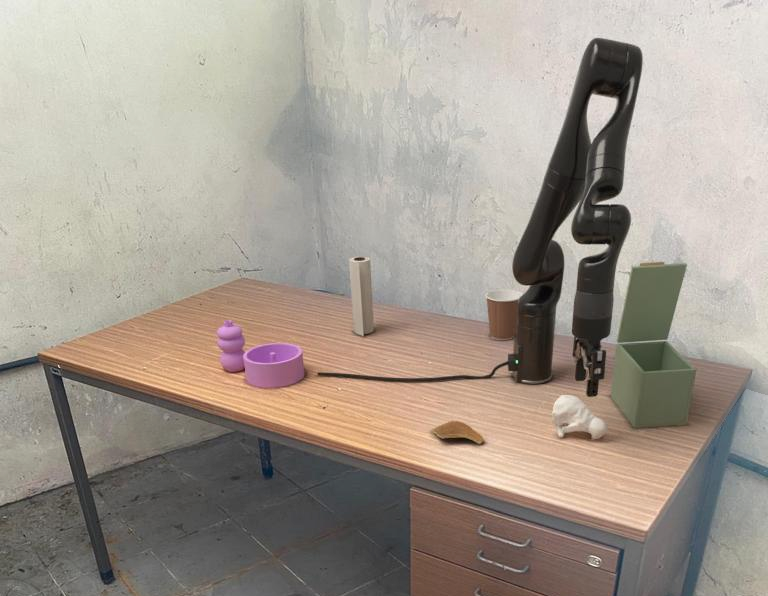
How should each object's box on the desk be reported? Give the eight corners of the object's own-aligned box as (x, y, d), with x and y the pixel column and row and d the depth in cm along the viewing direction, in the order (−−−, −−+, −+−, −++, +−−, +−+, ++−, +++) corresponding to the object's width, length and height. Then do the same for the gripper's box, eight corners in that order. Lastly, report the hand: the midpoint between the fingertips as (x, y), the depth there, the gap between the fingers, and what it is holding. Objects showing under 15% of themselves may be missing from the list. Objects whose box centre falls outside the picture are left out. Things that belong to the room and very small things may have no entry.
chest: (686, 424, 167) (696, 369, 160) (634, 428, 167) (642, 373, 160) (658, 392, 182) (666, 340, 175) (610, 395, 182) (616, 343, 175)
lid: (687, 264, 161) (679, 253, 165) (632, 268, 161) (626, 257, 165) (667, 339, 175) (660, 328, 178) (617, 343, 174) (611, 331, 178)
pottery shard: (485, 444, 164) (486, 434, 162) (445, 452, 162) (445, 441, 160) (467, 424, 172) (467, 414, 171) (428, 431, 170) (428, 421, 169)
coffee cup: (526, 333, 220) (528, 291, 214) (511, 344, 213) (513, 302, 207) (494, 328, 225) (495, 287, 219) (478, 339, 218) (479, 297, 212)
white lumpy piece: (561, 387, 165) (616, 402, 160) (555, 422, 170) (607, 437, 165) (551, 398, 161) (607, 414, 156) (545, 434, 166) (598, 450, 161)
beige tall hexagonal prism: (362, 326, 232) (357, 254, 220) (378, 329, 229) (374, 257, 217) (347, 333, 227) (342, 260, 215) (363, 337, 224) (359, 263, 212)
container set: (315, 370, 204) (310, 322, 197) (281, 391, 193) (275, 341, 186) (242, 357, 215) (235, 311, 208) (206, 376, 204) (197, 328, 197)
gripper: (623, 321, 145) (614, 400, 153) (600, 299, 157) (593, 373, 165) (584, 324, 145) (577, 403, 153) (564, 302, 157) (559, 376, 165)
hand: (585, 387), depth 159 cm, fingers open, 8 cm apart
